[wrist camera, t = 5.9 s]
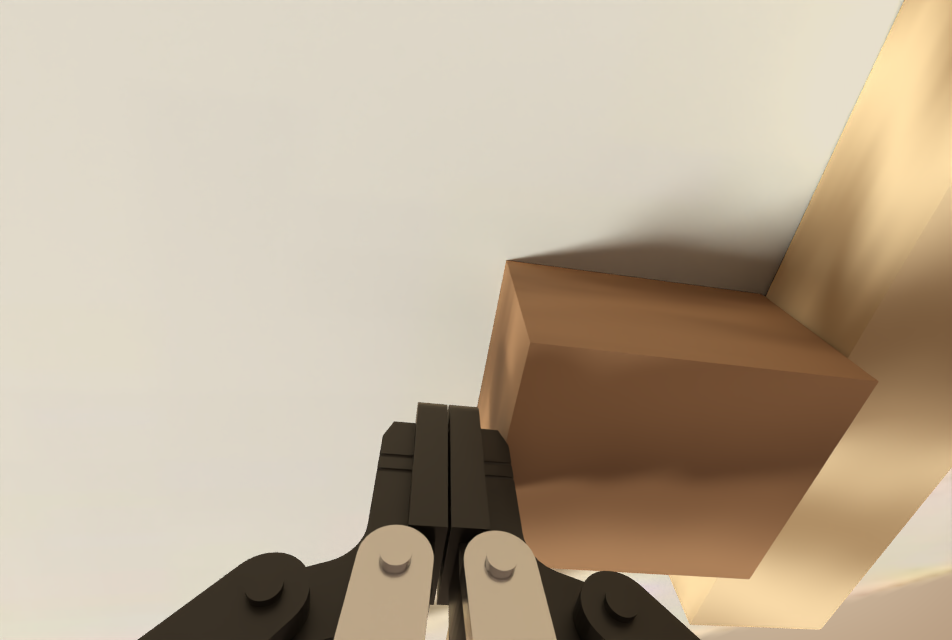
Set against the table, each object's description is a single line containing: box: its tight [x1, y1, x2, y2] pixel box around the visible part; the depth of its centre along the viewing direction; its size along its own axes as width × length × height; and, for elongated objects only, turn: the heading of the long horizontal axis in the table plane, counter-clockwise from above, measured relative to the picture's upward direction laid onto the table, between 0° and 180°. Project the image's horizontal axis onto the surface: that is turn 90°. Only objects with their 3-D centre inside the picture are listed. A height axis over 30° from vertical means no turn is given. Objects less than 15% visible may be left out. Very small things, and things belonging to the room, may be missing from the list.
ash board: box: [669, 0, 952, 630], centre depth 13 cm, size 24×5×4 cm, turn 172°
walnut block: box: [477, 260, 879, 579], centre depth 14 cm, size 7×8×5 cm
